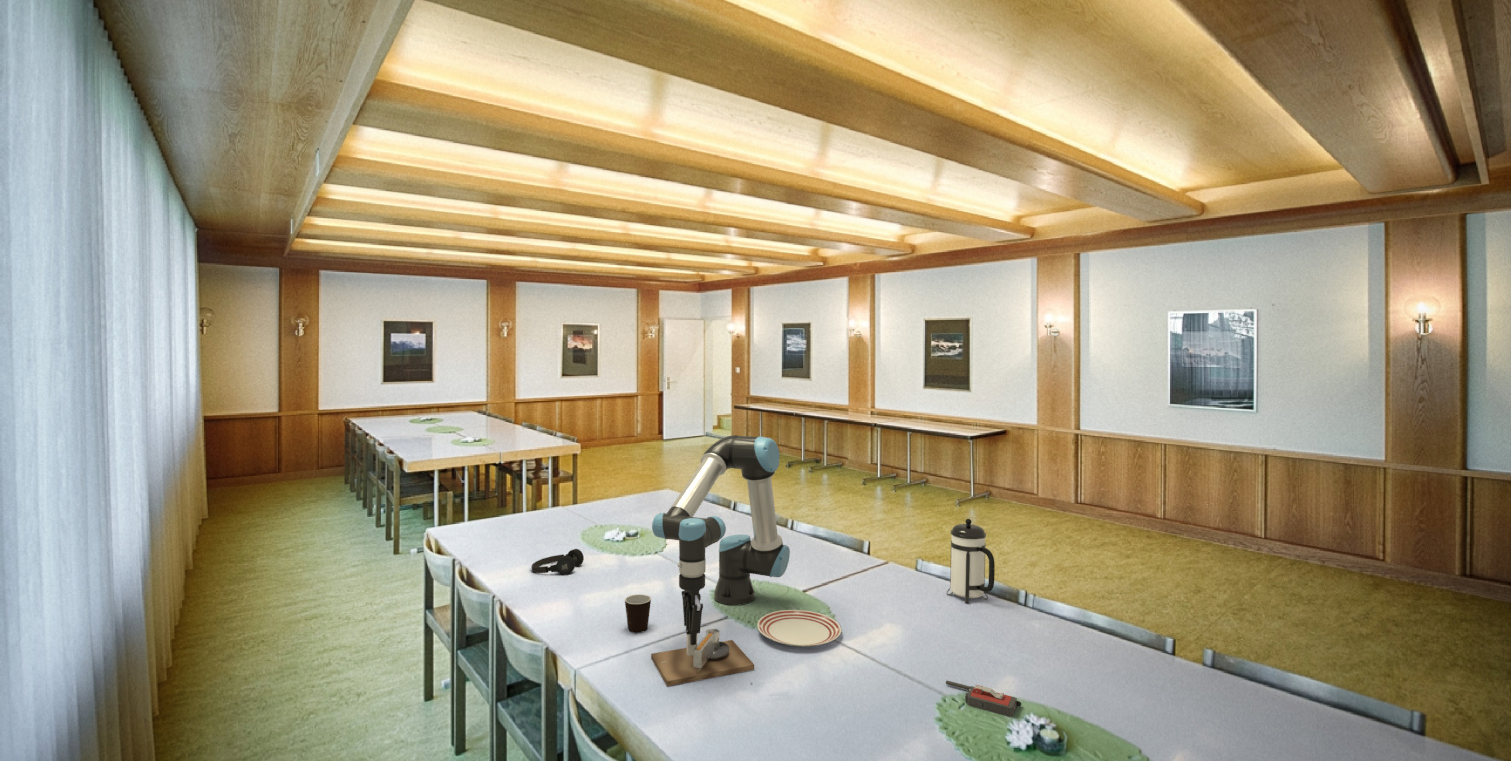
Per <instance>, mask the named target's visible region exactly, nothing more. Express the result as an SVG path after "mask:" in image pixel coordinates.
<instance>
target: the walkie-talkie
mask: <svg viewBox="0 0 1511 761" xmlns="http://www.w3.org/2000/svg"><path fill="white" fill-rule="evenodd" d="M945 684H946V685H948V686H952V687H955V688H959V689H964V690H967V691H969V692H965V696H964V701H965V702H967V703H966V705H967V706H969V707H972V708H976V709H978V710H979V709H980V710H983V711H987V712H991V713H995V714H998V715H1002V716H1006V717H1009V718H1011V717H1014V715H1015V713H1016V709H1017V707H1021V706H1022V702H1021V701H1019V700H1017V699H1018V698H1017V697H1015V696H1012V695H1008V694H1004V692H996V691H995V690H994V689H993V688H992V687H987V686H983V685H977V684H975V686H973V685H970V686H969V685H967V684H963V683H958V682H954V681H950V680H945Z"/></svg>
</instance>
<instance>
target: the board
mask: <svg viewBox="0 0 1511 761" xmlns="http://www.w3.org/2000/svg"><path fill="white" fill-rule="evenodd" d="M721 642H724V643H726V644H727V645H728V646H729V655H728V656H727V657H726V658H724V659H721V660H715V661H708V660H707V662H706V663H705V664H704V666H703V667H702V668H696V667H693V655H691V656H688V655H687V647H683V648H677V649H672V650H665V651H660V652H654V653H651V654H650V657H651V658H650V659H651V660H652V662H653V665H655V667H656V670H657V671H658V673H659V675H660V677H661V678H662V680H663V681H664V684H665V685H666V687H672V686H677V685H682V684H688V683H693V682H697V681H703V680H709V679H713V678H718V677H724V676H725V677H726V676H730V675H734V674H739V673H744V672H750V671H754V670H755V663H754V662H753V661H752V660H751V659H750V658H749V657H748V656H747V654H746V653H745V652H744V651H743V650H742V649H741V648H740V647H739V645H738V644H737V643H736V642H735V641H734V640H733V639H729V640H723V641H721Z"/></svg>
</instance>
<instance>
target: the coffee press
mask: <svg viewBox="0 0 1511 761" xmlns="http://www.w3.org/2000/svg"><path fill="white" fill-rule="evenodd" d="M964 522H965V523H960V524H959V523H958V524H956V525H954V526H953V527H952V529H951V530H950V535H951V540H950V569H949V570H950V573H949V574H950V575H949V577H950V578H949V583H950V587H949V588H948V589H947V591H946V595H947V596H951V595H956V596H958V597H961V598H964V601H965V602H964V603H965V604H970V599H977V598H980V597H981V598H983V599H984V600H985V601H986V600H988V599H989V597H988V594H987V593H989V592H991V591H993V589H994V586H995V574H996V573H995V565H996V564H995V558H994V555H993V553H992V552H991V550H990V549H988V548H986V537H987V532H986V531H985V529H984V528H983V527H981V526H979V525H976V524H972V523H973V522H972V520H971V518H965V521H964ZM986 556H987V558H988V584H987V586H985V584H986V583H985V582H986V567H985V562H986ZM949 591H951V592H950V593H949ZM984 594H985V596H986V597H984V596H983V595H984Z"/></svg>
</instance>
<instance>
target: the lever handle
mask: <svg viewBox="0 0 1511 761" xmlns="http://www.w3.org/2000/svg"><path fill="white" fill-rule="evenodd" d="M728 655H729V646H728V645H727V644H726V643H724V642H722V641H721V640H720V630H719V629H716V628H709V629H706V631H705V635H704V637H702V639H701V640H700V641H699V642H698V643H697V646H696V647H695V648H694V650H693V667H696V668H702V667H703V666H704V664H705V663H706V662H707V660H708V661H715V660H721V659H724V658H726V657H727V656H728Z"/></svg>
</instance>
